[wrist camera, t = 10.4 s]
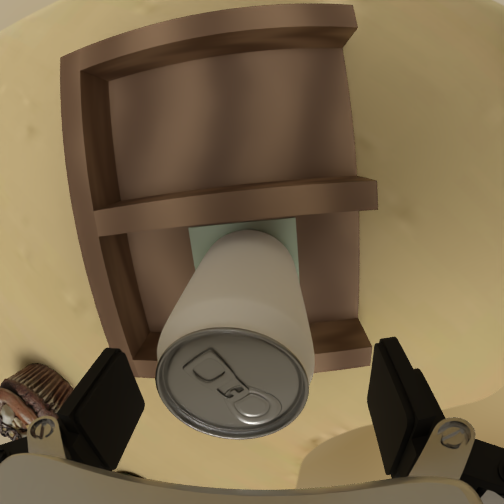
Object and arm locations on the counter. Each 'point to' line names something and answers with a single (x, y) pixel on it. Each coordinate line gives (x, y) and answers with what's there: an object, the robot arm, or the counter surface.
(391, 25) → the counter surface
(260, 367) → the can
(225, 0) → the counter surface
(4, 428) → the cupcake
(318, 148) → the tray
